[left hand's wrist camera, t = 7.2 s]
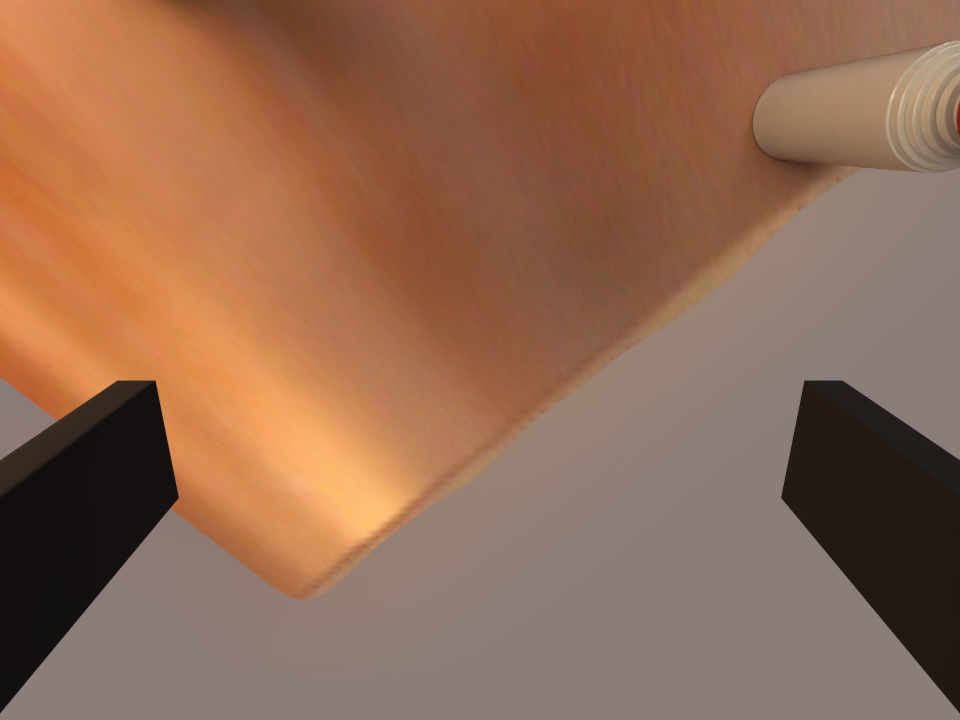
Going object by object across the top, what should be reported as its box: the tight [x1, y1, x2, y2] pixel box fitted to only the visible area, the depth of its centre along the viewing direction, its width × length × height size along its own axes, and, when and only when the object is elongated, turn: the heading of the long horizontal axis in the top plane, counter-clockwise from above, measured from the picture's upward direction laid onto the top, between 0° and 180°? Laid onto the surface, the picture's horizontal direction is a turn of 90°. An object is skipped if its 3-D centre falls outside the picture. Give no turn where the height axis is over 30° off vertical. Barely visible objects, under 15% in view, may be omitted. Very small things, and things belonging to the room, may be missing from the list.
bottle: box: [753, 40, 960, 173], centre depth 28 cm, size 5×5×18 cm
